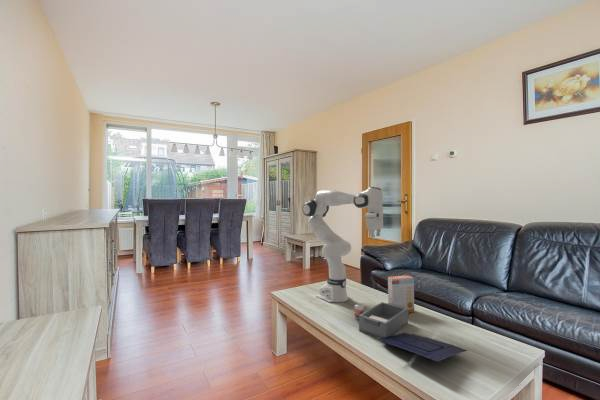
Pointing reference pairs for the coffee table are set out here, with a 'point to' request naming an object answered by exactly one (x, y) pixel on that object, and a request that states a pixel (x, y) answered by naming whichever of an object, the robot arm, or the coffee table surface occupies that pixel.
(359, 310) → the jar with white lid
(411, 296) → the cracker box
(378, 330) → the tote
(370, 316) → the cream block
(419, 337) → the dark navy flat panel
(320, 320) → the coffee table surface
